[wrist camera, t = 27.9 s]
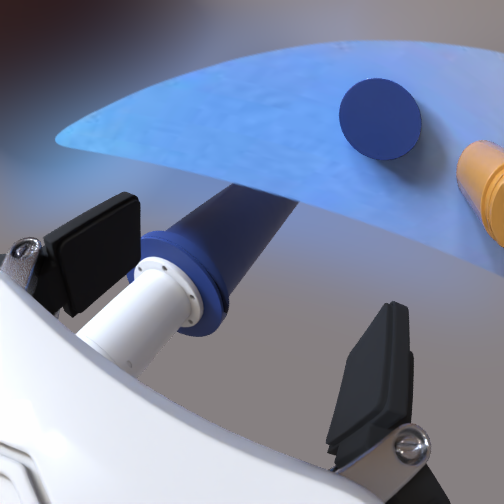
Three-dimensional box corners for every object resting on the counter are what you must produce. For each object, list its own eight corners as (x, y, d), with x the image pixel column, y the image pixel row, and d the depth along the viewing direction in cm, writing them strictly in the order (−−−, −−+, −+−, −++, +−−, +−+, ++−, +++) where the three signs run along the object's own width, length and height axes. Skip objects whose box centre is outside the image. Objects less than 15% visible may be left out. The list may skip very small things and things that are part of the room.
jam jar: (495, 217, 20) (529, 269, 13) (446, 189, 21) (471, 234, 14) (520, 160, 16) (568, 194, 9) (469, 127, 17) (510, 146, 11)
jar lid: (397, 170, 22) (399, 176, 21) (329, 134, 23) (326, 137, 22) (430, 104, 18) (434, 105, 17) (358, 66, 19) (356, 64, 18)
